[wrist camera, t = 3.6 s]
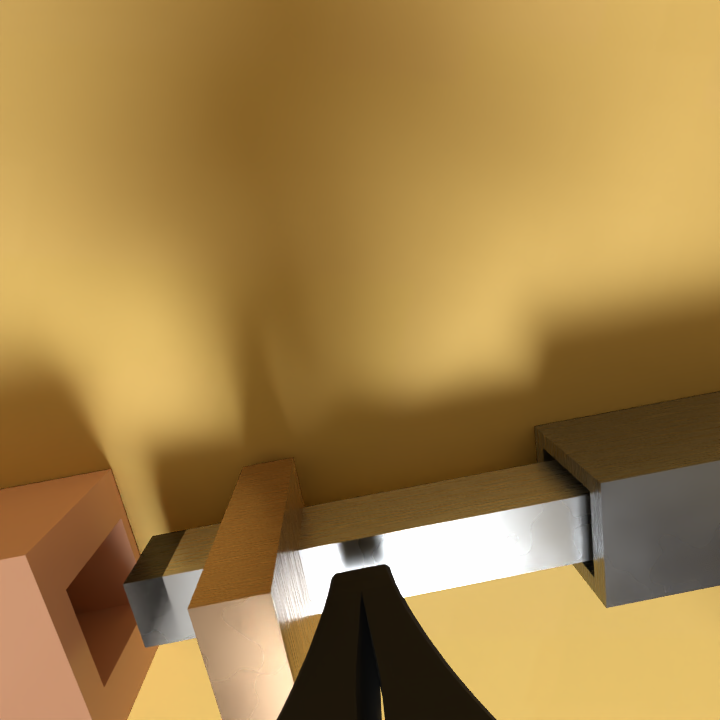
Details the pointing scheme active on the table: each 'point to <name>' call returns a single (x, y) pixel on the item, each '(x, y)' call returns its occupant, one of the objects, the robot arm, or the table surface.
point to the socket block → (68, 602)
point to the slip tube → (338, 563)
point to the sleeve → (646, 495)
